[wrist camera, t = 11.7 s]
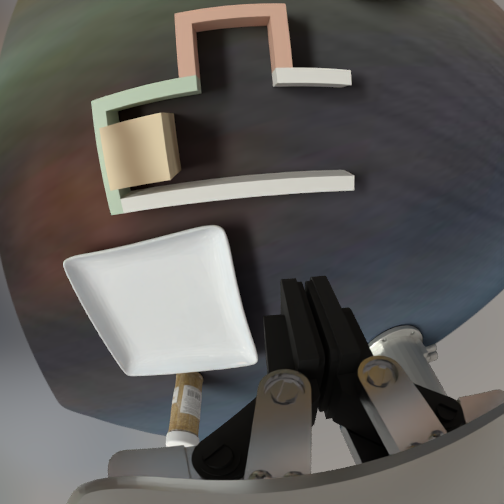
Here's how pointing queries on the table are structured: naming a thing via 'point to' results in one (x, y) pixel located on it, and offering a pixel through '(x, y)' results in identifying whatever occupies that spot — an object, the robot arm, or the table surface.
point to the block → (140, 151)
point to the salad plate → (166, 303)
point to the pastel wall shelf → (191, 85)
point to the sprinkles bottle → (185, 410)
